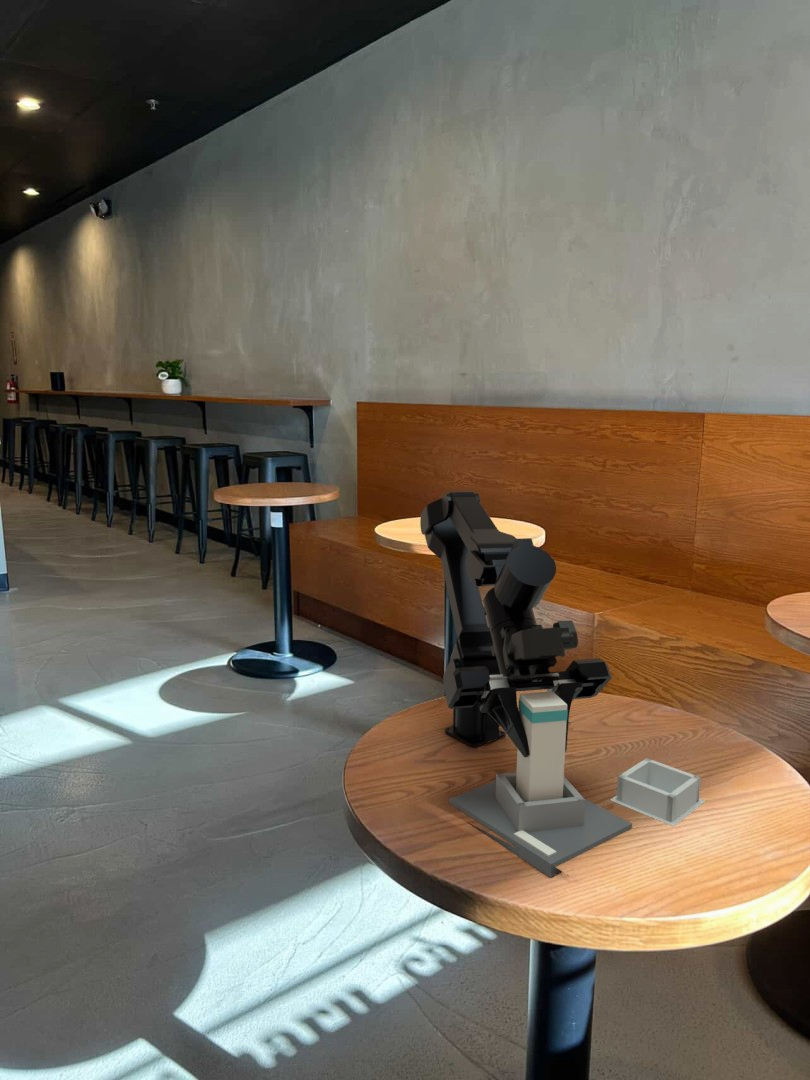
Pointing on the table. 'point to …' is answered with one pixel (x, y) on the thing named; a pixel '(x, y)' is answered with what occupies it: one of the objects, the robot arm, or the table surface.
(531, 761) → the plug
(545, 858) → the port panel
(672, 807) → the holster
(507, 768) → the table surface
